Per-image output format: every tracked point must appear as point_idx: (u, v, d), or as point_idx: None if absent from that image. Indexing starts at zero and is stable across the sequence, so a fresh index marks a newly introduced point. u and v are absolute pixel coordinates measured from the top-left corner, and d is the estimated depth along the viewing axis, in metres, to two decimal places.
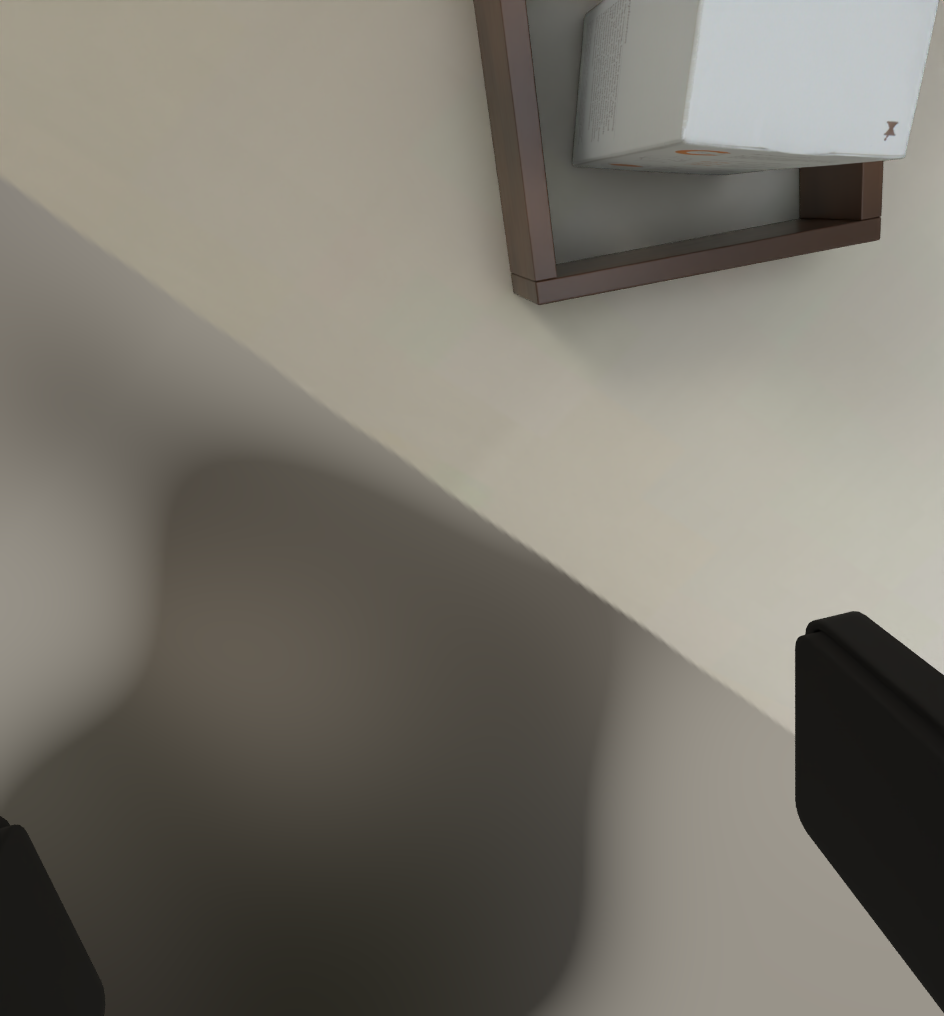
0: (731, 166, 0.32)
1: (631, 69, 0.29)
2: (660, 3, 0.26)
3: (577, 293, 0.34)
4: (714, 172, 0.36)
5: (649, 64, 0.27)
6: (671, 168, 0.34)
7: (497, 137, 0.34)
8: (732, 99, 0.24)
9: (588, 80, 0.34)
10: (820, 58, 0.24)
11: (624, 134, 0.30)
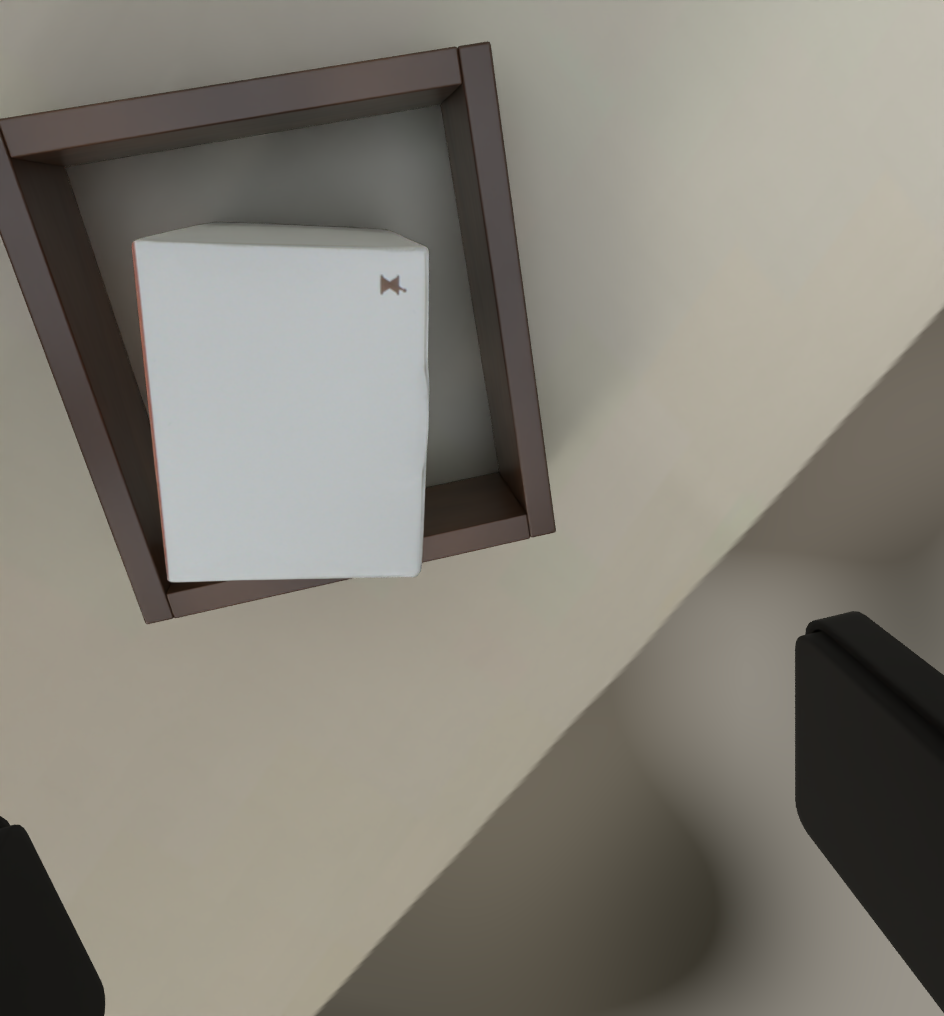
0: None
1: None
2: None
3: (545, 489, 0.28)
4: None
5: None
6: None
7: None
8: (369, 524, 0.19)
9: None
10: (309, 418, 0.18)
11: None
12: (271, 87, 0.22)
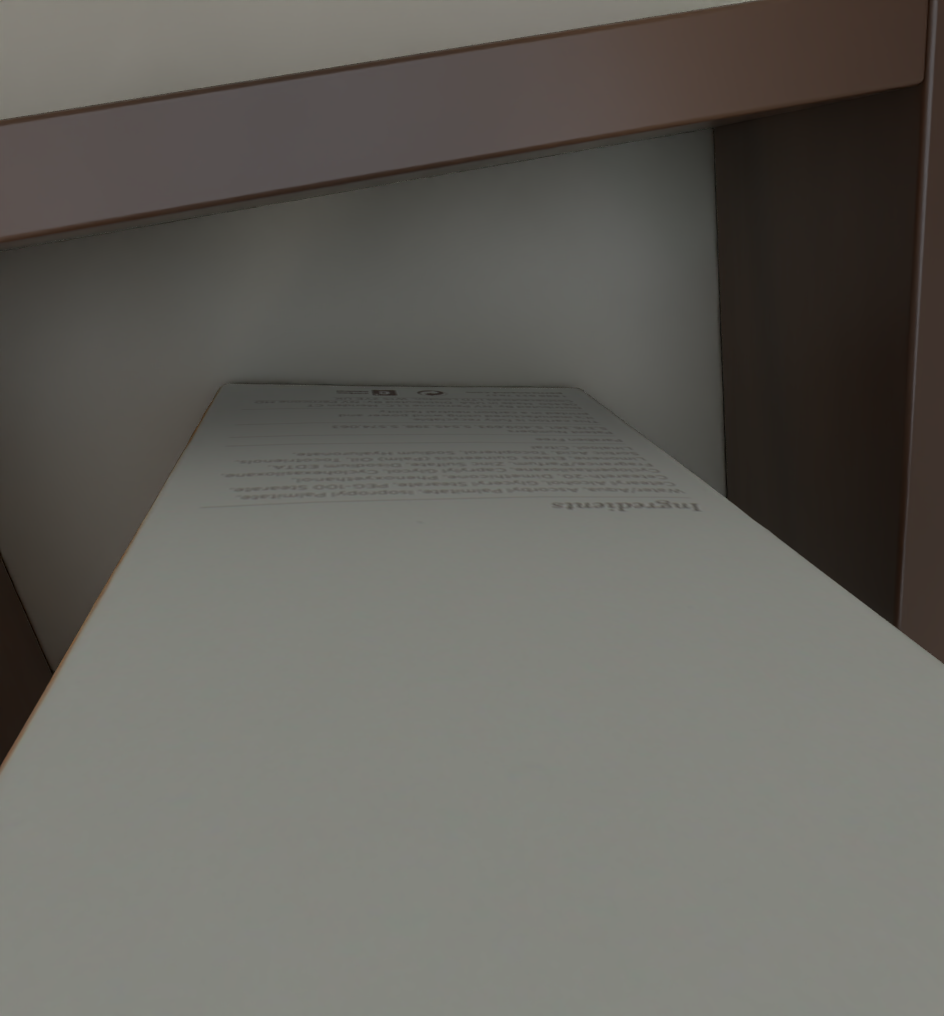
0: None
1: None
2: None
3: None
4: None
5: None
6: None
7: None
8: None
9: None
10: None
11: None
12: (394, 93, 0.07)
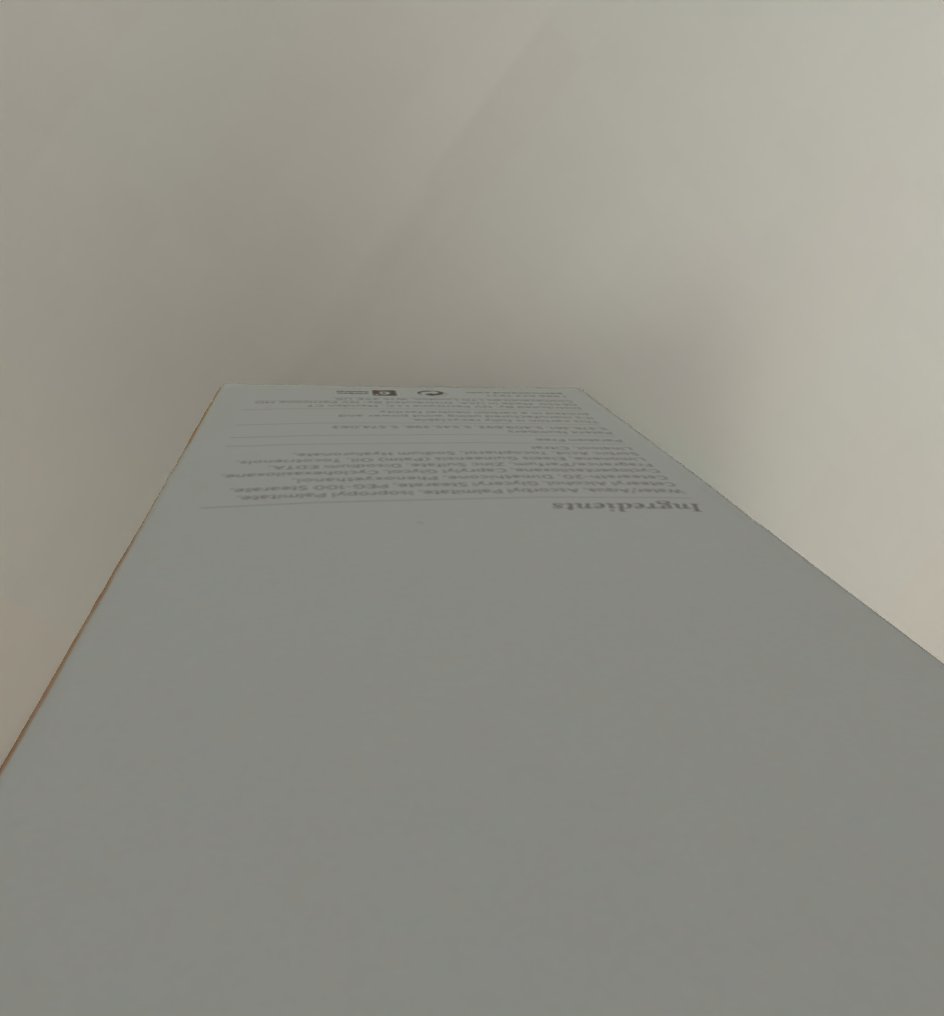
0: None
1: None
2: None
3: None
4: None
5: None
6: None
7: None
8: None
9: None
10: None
11: None
12: None
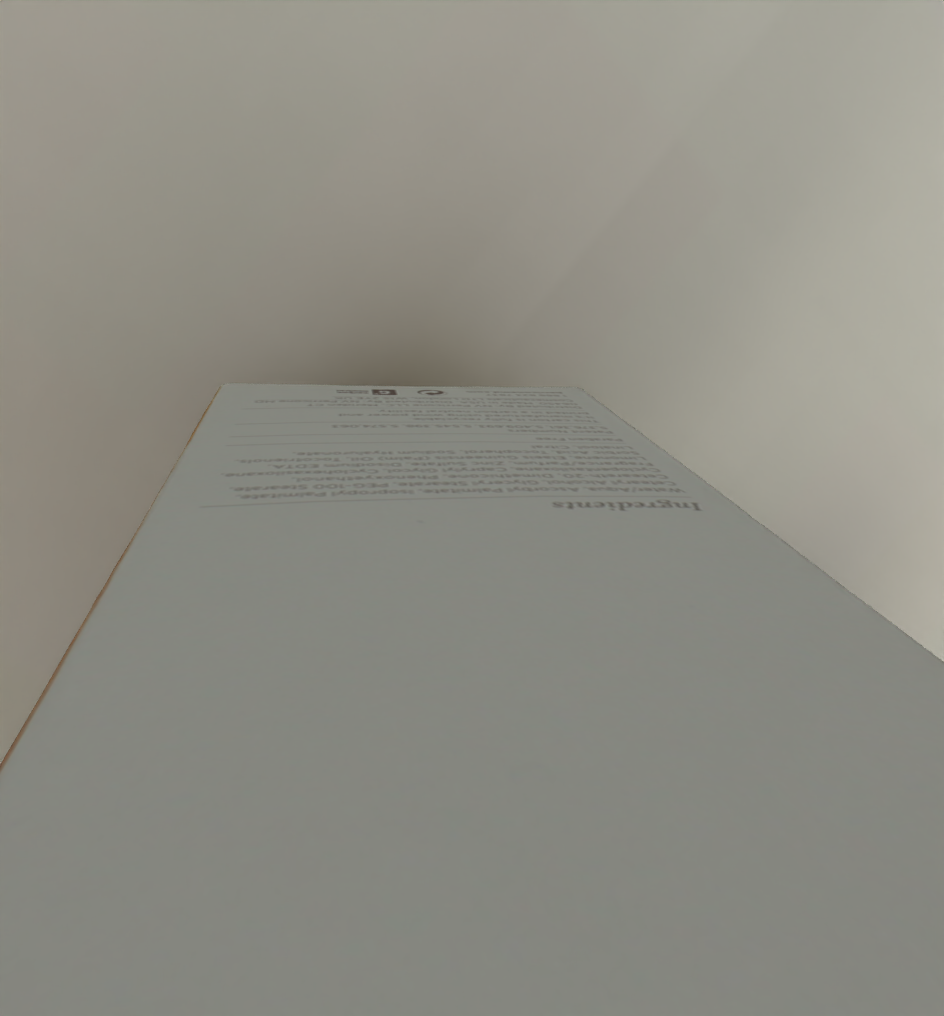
0: None
1: None
2: None
3: None
4: None
5: None
6: None
7: None
8: None
9: None
10: None
11: None
12: None
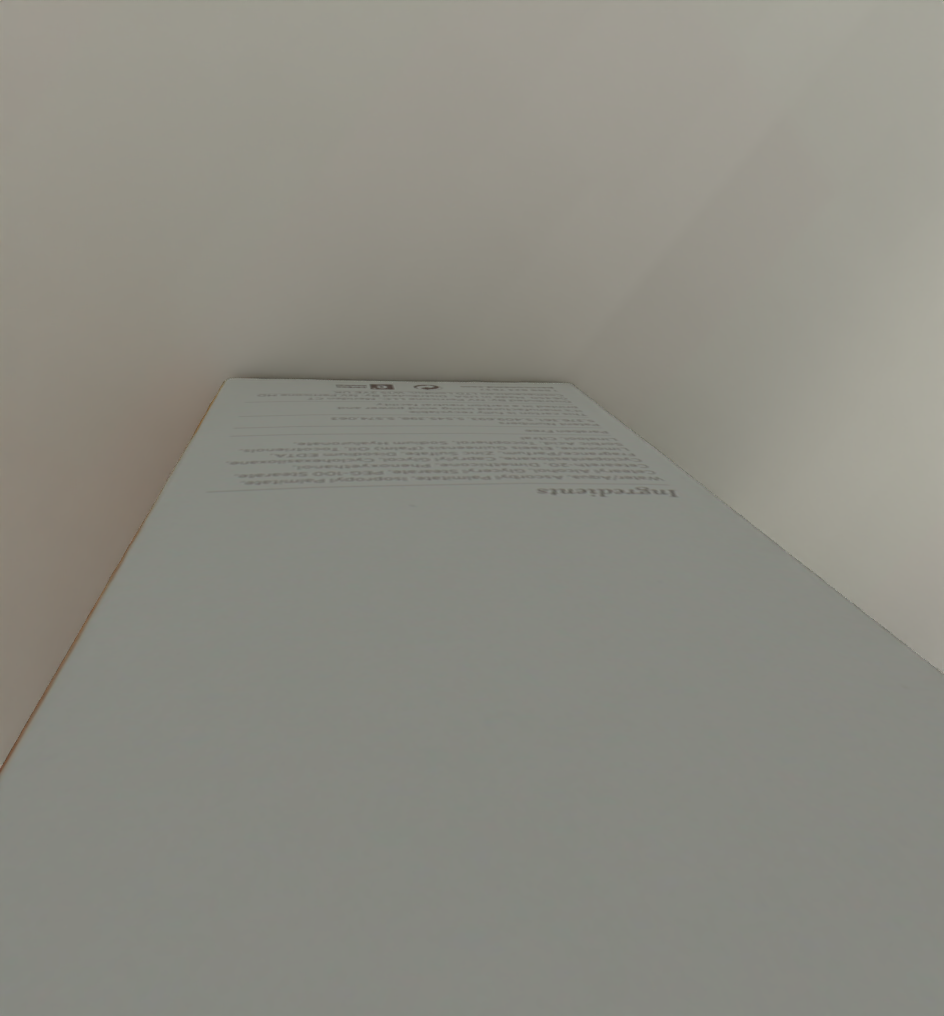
0: None
1: None
2: None
3: None
4: None
5: None
6: None
7: None
8: None
9: None
10: None
11: None
12: None
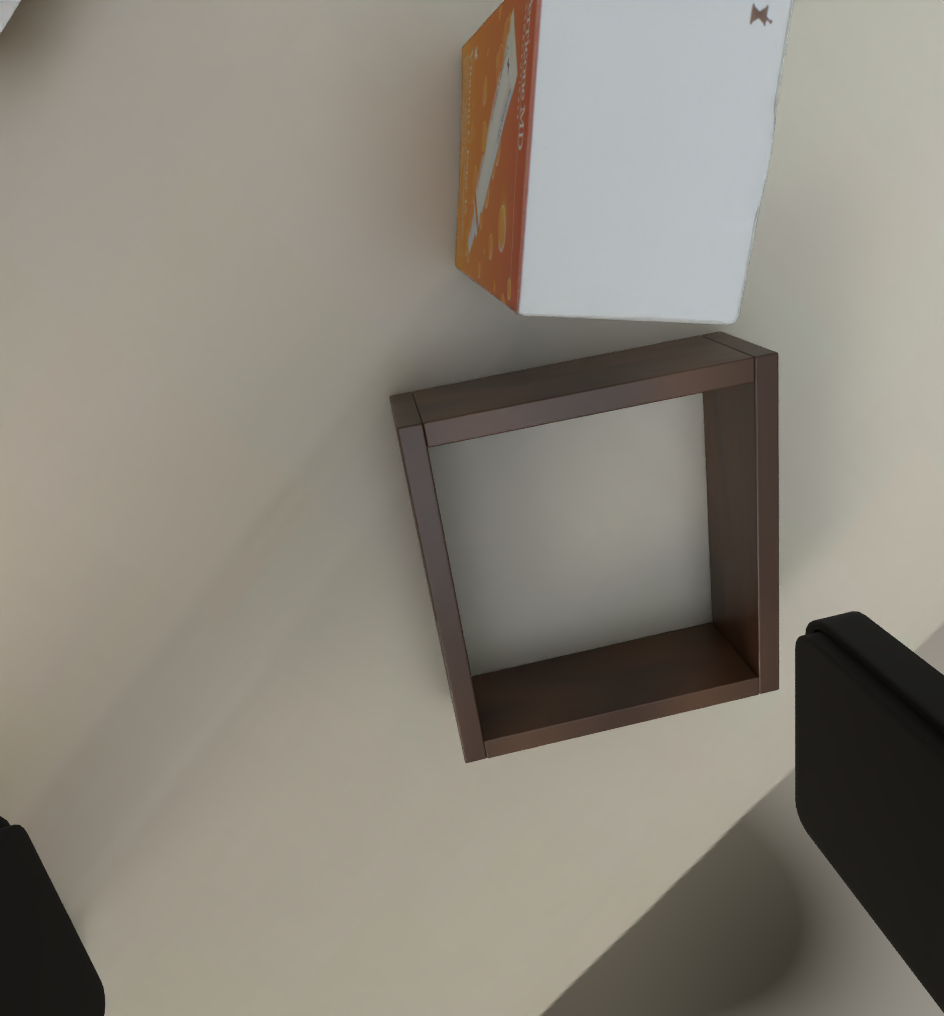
0: None
1: None
2: None
3: (775, 658, 0.36)
4: None
5: None
6: None
7: None
8: (701, 265, 0.20)
9: None
10: (668, 149, 0.19)
11: None
12: (617, 392, 0.30)
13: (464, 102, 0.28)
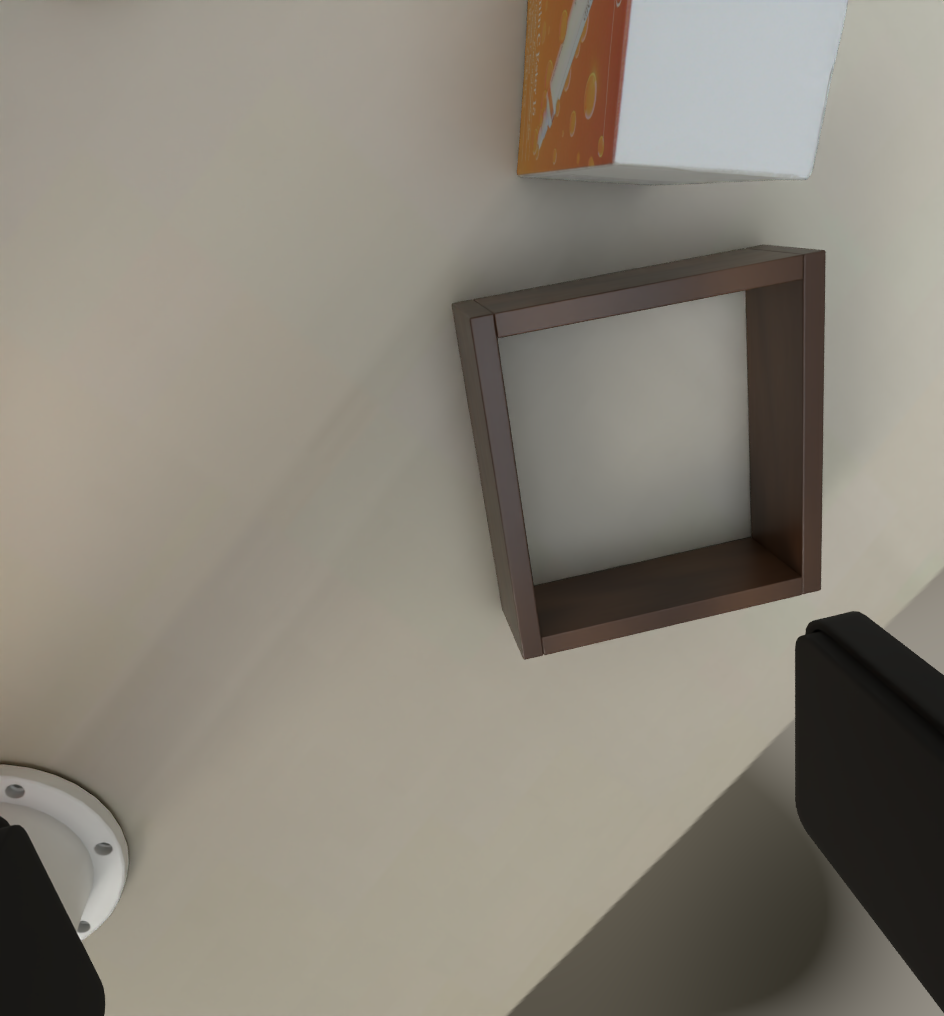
0: None
1: (649, 178, 0.27)
2: (627, 173, 0.25)
3: (818, 558, 0.37)
4: None
5: (673, 177, 0.26)
6: None
7: None
8: (781, 119, 0.22)
9: None
10: (755, 4, 0.21)
11: (706, 181, 0.28)
12: (676, 286, 0.31)
13: (532, 11, 0.30)
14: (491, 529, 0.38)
